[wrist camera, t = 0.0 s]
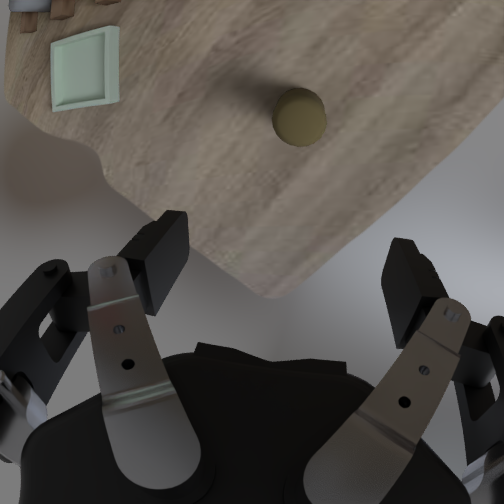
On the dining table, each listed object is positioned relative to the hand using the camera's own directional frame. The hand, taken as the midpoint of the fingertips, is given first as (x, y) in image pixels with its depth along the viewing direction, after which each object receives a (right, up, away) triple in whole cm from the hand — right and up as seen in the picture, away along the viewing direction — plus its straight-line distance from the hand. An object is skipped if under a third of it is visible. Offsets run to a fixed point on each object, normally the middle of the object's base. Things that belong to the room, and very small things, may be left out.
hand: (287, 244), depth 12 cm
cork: (+5, +17, +24) cm, 30 cm away
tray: (-26, +27, +23) cm, 44 cm away
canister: (-34, +41, +16) cm, 55 cm away
